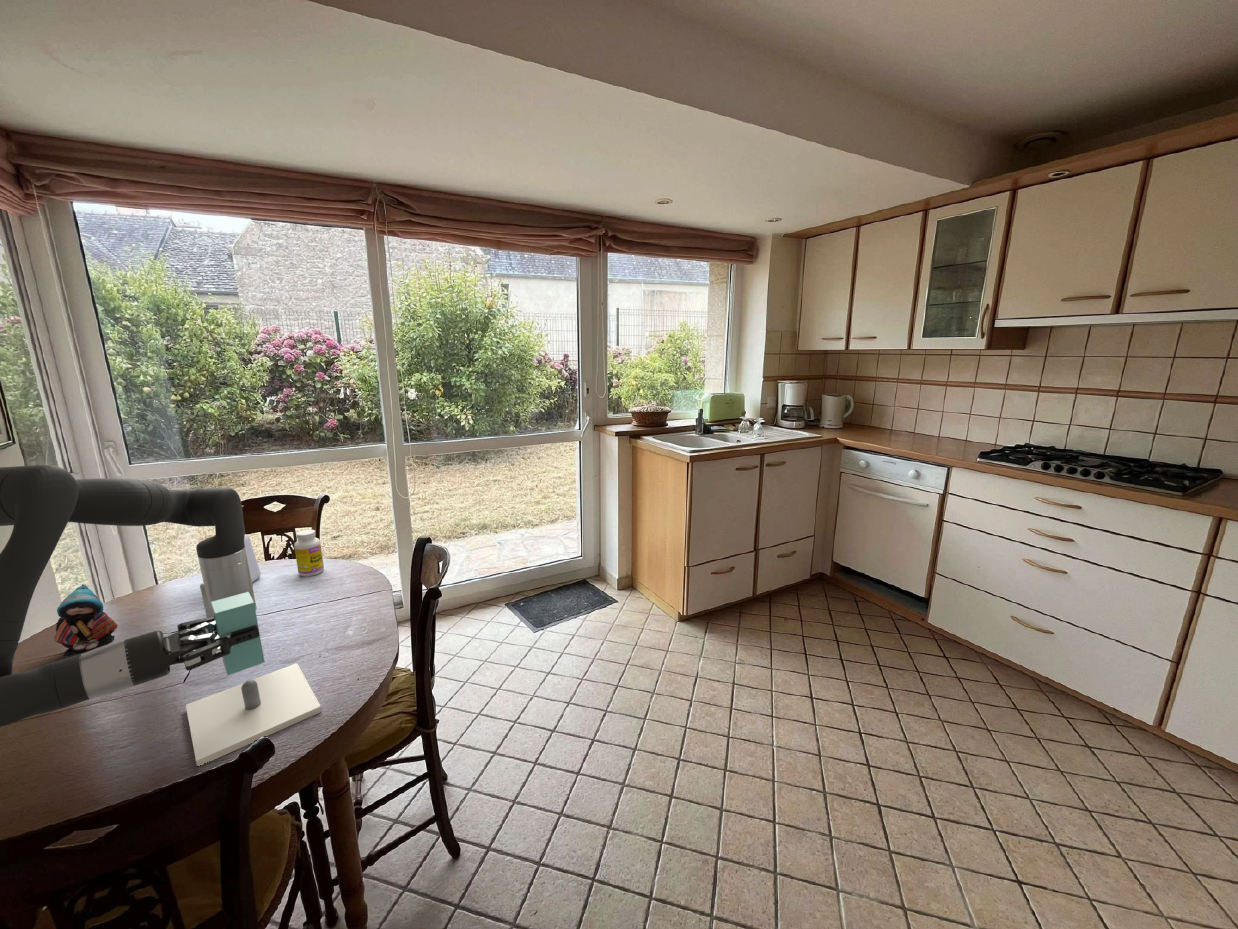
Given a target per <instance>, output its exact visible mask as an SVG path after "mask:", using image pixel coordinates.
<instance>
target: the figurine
mask: <svg viewBox="0 0 1238 929" xmlns="http://www.w3.org/2000/svg"><path fill="white" fill-rule="evenodd" d="M56 613H57V615H58V617H59V618H58V620H57V622H56V624H55V634H54V640H53V641H54V642H55V643H58V644H59V645H60V644H61V645H62V646H63V647H65V648H66V650H65V651H64V653H63V655H64V656H68V657H70V656H74V655H78V654H82V653H86V652H88V651H91V650H94V649H96V648H99V647H102V646H105V645H108V644H111V643H113V641H115V635H112V634H113V633H114V632H115V631H116V629H117V628H118V624H117V623H116V622H115V620H114V619H112V617H110V616H109V615H108V614H107V613H106V612H105V611H104V605H103V602H102V601H101V600H100V599H99V598H98V596H97V595H96V594H95V593H94V592H93V591H92V590H91V589H90V588H89V587H88V586H87V584H85V583H83V584H81V585H80V586H78V587H76V588H75V589H74V590H73V591H72V592H71V593H70V594H69V595H67V596H66V597H65V598H64V599H63V600H62V601H61V602H60V604H59V606H57V608H56Z"/></svg>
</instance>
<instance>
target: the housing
mask: <svg viewBox="0 0 1238 929" xmlns="http://www.w3.org/2000/svg"><path fill="white" fill-rule="evenodd" d="M211 604H212V609H213V614H214V619H215V623H216V628H217V633H218V635H223V634H226V633H231V632H234V631H237V630H240V629H244V628H247V627H250V626H253V625H257V626H258V629H259V628H260V627H259V625H258V624H259V623H258V618H257V612H256V610H255V606H254V602H253V600H252V598H251V596H250V594H249V592H246V593H242V594H239V595H235V596H231V597H227V598H224V599H220V600H216V601H213V602H211ZM259 630H260V629H259ZM231 635H232V633H231ZM219 641H220V640H219ZM230 652H231V653H230V654H228V655H226V656H223V657H221V658H222V662H223V666H224V668H225V672H226V676H230V675H232V674H235V673H238V672H241V671H244V670H247V669H249V668H253V667H255V666H258V665H261V664H263V663H265V658H264V652H263V646H262V640H261V635H260V633H259V637H257V638H254V639H251V640H248V641H245V642H242V643H239V644H236V645H234V647H233V648H231V649H230Z"/></svg>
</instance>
